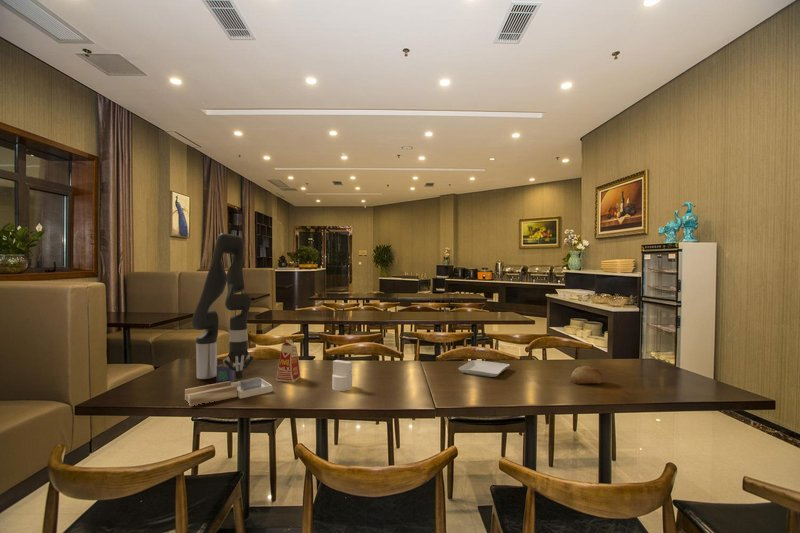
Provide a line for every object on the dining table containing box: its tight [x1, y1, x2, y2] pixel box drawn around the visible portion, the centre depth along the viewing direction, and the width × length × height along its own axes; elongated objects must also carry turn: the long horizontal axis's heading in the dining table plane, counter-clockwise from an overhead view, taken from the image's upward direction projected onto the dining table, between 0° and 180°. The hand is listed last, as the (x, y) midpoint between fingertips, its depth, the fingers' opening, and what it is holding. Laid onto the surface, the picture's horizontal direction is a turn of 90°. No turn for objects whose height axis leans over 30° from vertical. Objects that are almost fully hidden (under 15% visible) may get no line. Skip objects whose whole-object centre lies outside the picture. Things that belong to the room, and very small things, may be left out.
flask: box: [215, 362, 235, 384], centre depth 188 cm, size 9×3×11 cm, turn 74°
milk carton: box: [275, 338, 301, 383], centre depth 198 cm, size 9×9×20 cm
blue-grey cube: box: [249, 376, 262, 389], centre depth 182 cm, size 4×4×4 cm
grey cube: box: [240, 378, 253, 391], centre depth 179 cm, size 4×4×4 cm
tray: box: [231, 378, 274, 399], centre depth 180 cm, size 16×14×3 cm
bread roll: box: [570, 365, 605, 385], centre depth 189 cm, size 10×15×8 cm, turn 89°
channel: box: [184, 381, 238, 407], centre depth 170 cm, size 10×18×4 cm, turn 129°
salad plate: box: [458, 359, 511, 378], centre depth 210 cm, size 21×21×3 cm
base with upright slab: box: [331, 359, 353, 392], centre depth 184 cm, size 9×9×12 cm
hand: (238, 378), depth 177 cm, fingers closed
